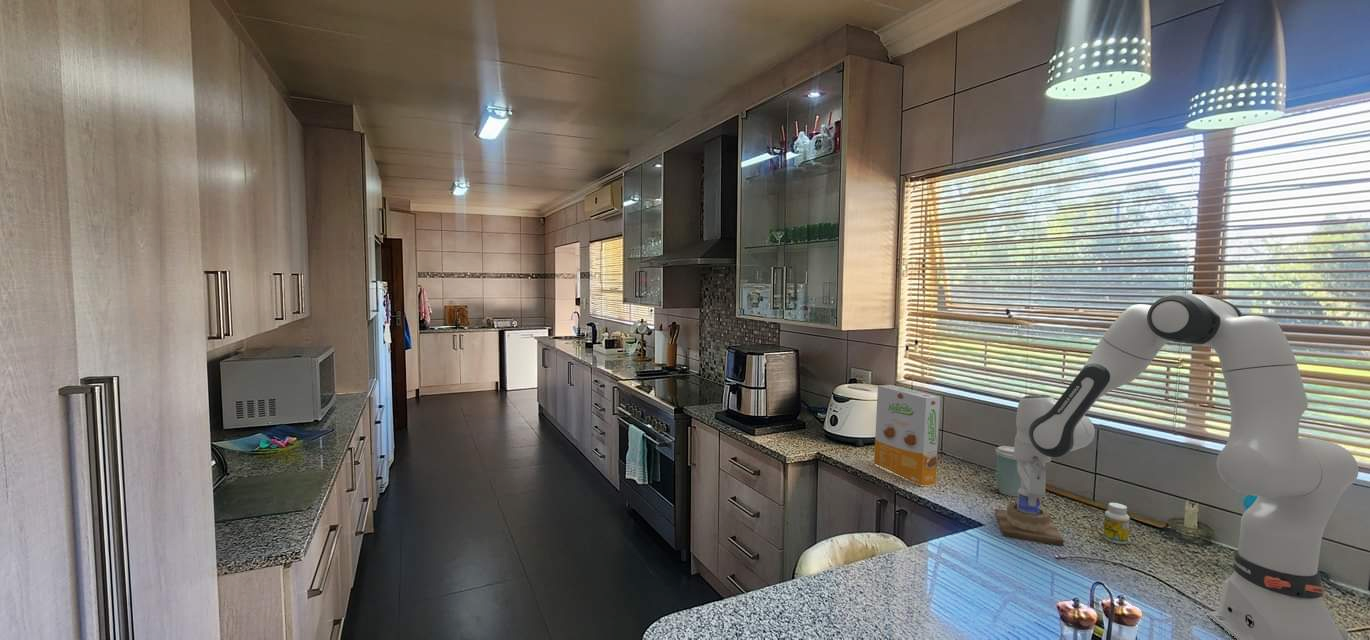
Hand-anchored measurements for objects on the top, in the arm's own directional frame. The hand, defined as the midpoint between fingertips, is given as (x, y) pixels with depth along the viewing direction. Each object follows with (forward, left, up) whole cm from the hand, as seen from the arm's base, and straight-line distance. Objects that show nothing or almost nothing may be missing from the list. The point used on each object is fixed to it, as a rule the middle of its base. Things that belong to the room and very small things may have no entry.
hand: (1029, 500), depth 160 cm
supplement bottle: (+2, -21, -8) cm, 23 cm away
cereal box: (+32, +33, -8) cm, 47 cm away
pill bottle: (0, 0, -5) cm, 5 cm away
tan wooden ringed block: (0, 0, -8) cm, 8 cm away
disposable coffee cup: (+29, 0, -8) cm, 30 cm away
